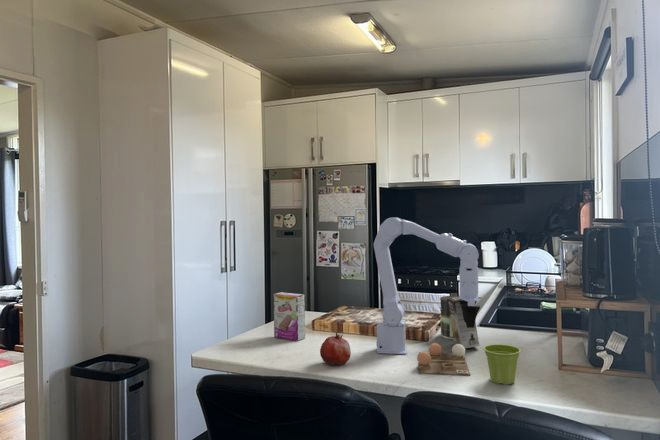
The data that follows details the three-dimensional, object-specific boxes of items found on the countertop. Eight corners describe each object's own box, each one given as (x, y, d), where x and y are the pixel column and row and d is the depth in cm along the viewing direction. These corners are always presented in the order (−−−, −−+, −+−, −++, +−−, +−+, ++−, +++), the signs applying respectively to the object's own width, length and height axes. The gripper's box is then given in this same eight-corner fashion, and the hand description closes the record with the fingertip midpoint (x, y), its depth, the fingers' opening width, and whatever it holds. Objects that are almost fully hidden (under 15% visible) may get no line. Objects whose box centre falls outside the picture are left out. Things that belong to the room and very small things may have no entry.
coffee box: (453, 343, 170) (445, 297, 170) (471, 339, 170) (463, 294, 170) (461, 349, 161) (453, 301, 161) (480, 346, 161) (472, 297, 161)
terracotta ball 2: (429, 357, 150) (428, 344, 150) (428, 354, 154) (428, 341, 154) (442, 358, 149) (442, 345, 149) (441, 354, 153) (441, 341, 153)
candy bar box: (273, 337, 181) (272, 293, 180) (281, 335, 185) (281, 291, 185) (297, 341, 175) (297, 296, 174) (305, 338, 179) (305, 294, 179)
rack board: (418, 373, 138) (418, 369, 138) (418, 353, 158) (418, 349, 158) (470, 375, 135) (470, 371, 135) (463, 355, 155) (463, 351, 155)
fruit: (315, 361, 151) (315, 329, 150) (343, 357, 154) (343, 326, 154) (327, 370, 142) (326, 336, 142) (356, 365, 146) (355, 332, 146)
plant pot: (501, 389, 125) (501, 355, 125) (476, 378, 133) (476, 346, 133) (528, 383, 129) (528, 351, 128) (503, 373, 137) (502, 342, 137)
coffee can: (436, 337, 178) (435, 298, 177) (447, 331, 186) (446, 294, 186) (463, 341, 172) (463, 301, 171) (473, 335, 180) (473, 297, 180)
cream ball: (452, 358, 149) (452, 345, 149) (451, 354, 153) (451, 342, 153) (465, 359, 148) (465, 346, 148) (464, 355, 152) (464, 342, 152)
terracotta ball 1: (417, 367, 141) (417, 353, 141) (417, 363, 145) (417, 349, 145) (431, 367, 140) (431, 354, 140) (431, 363, 144) (430, 350, 144)
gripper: (485, 285, 147) (485, 330, 147) (479, 279, 161) (479, 320, 161) (461, 285, 148) (461, 329, 148) (457, 278, 162) (457, 319, 162)
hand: (469, 324), depth 155 cm, fingers open, 7 cm apart
